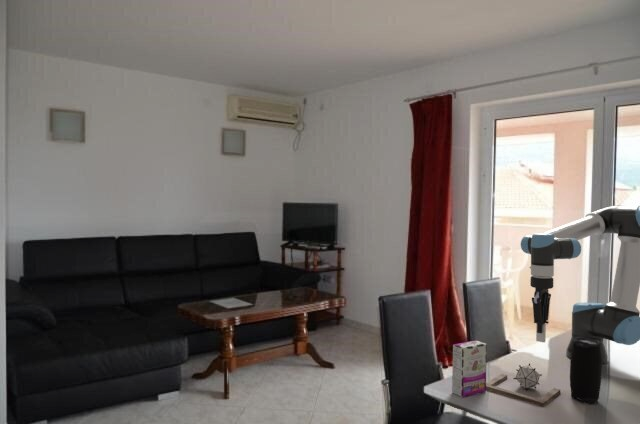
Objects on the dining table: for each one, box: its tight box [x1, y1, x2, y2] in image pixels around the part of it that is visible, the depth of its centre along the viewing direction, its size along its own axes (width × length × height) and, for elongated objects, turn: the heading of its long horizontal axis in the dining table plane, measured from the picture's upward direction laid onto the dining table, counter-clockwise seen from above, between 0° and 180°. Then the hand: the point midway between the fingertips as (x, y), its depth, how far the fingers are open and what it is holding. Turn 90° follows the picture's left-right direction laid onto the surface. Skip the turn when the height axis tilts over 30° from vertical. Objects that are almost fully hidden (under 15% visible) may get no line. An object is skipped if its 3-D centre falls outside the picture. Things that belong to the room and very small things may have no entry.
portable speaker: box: [569, 337, 603, 405], centre depth 157 cm, size 9×9×20 cm
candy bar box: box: [451, 339, 488, 399], centre depth 160 cm, size 11×5×16 cm, turn 119°
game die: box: [512, 362, 543, 392], centre depth 166 cm, size 9×8×10 cm
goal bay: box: [486, 373, 561, 407], centre depth 163 cm, size 16×20×1 cm
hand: (540, 341), depth 175 cm, fingers closed
